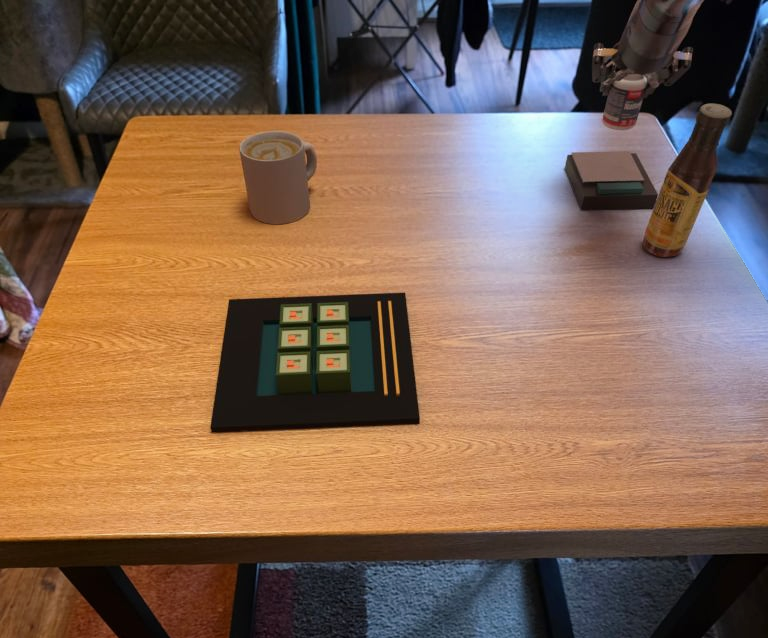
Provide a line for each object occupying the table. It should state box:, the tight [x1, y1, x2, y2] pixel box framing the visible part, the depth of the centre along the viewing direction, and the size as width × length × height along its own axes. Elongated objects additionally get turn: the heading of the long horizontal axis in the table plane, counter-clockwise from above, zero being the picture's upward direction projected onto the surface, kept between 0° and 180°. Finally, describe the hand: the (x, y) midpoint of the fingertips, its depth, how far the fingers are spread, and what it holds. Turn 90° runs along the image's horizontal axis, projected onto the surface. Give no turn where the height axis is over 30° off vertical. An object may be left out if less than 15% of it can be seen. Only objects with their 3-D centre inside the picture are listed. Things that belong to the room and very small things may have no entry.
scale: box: [564, 150, 659, 211], centre depth 111 cm, size 12×14×3 cm
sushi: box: [209, 292, 421, 434], centre depth 85 cm, size 25×25×4 cm
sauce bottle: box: [642, 103, 733, 258], centre depth 93 cm, size 6×6×20 cm
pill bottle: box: [601, 74, 647, 131], centre depth 101 cm, size 5×5×9 cm
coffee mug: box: [238, 130, 318, 225], centre depth 106 cm, size 13×10×10 cm
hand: (625, 90), depth 103 cm, fingers closed on pill bottle, 5 cm apart
